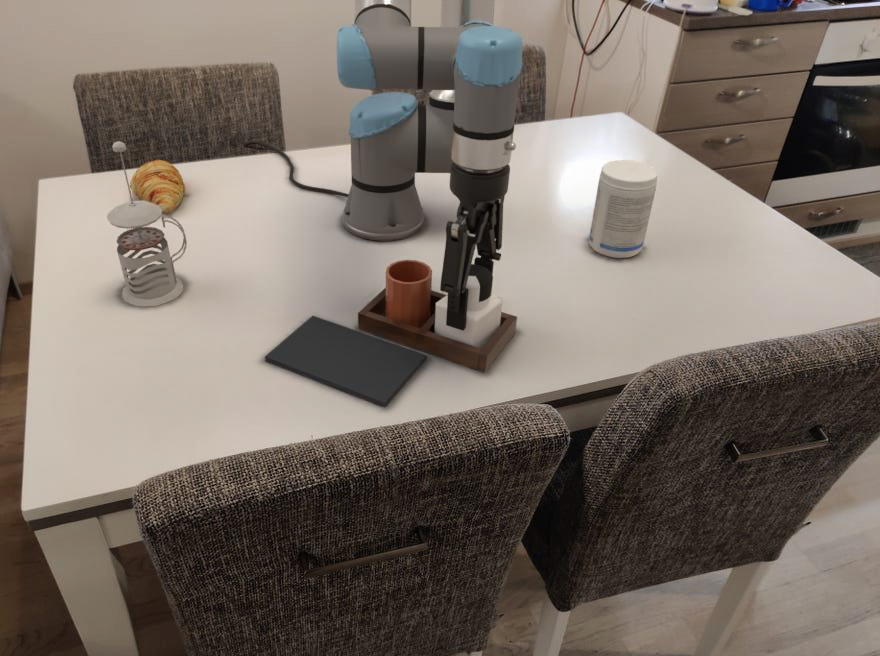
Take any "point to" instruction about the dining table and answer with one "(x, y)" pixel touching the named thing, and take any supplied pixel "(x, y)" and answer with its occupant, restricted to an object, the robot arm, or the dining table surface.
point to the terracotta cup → (408, 292)
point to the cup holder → (433, 342)
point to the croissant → (158, 184)
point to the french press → (153, 279)
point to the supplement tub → (622, 208)
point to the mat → (347, 360)
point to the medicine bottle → (473, 311)
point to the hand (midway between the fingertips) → (468, 311)
